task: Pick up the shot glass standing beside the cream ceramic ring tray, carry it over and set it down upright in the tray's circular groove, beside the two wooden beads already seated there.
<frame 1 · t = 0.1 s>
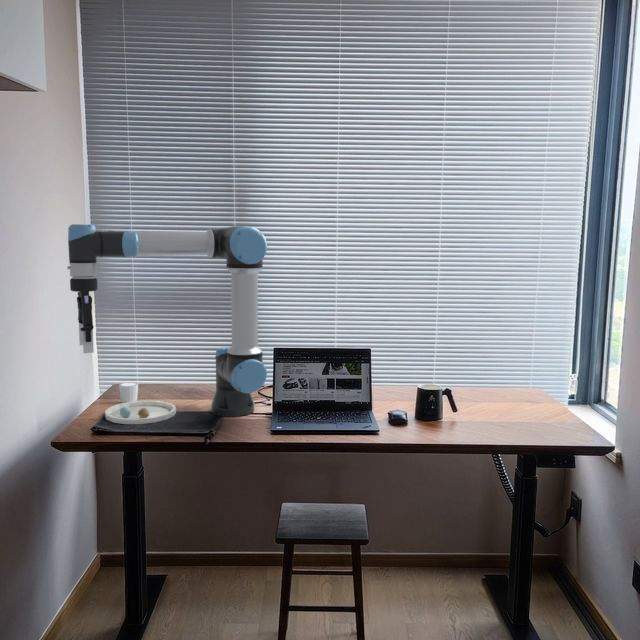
hand: (86, 348, 189), 28 cm above the table, fingers open, 13 cm apart
shot glass: (129, 403, 235), on the table
bead teal: (125, 417, 213), point 1 cm above the table, touching ring tray
ring tray: (141, 416, 217), on the table
bead honey: (143, 418, 212), point 1 cm above the table, touching ring tray
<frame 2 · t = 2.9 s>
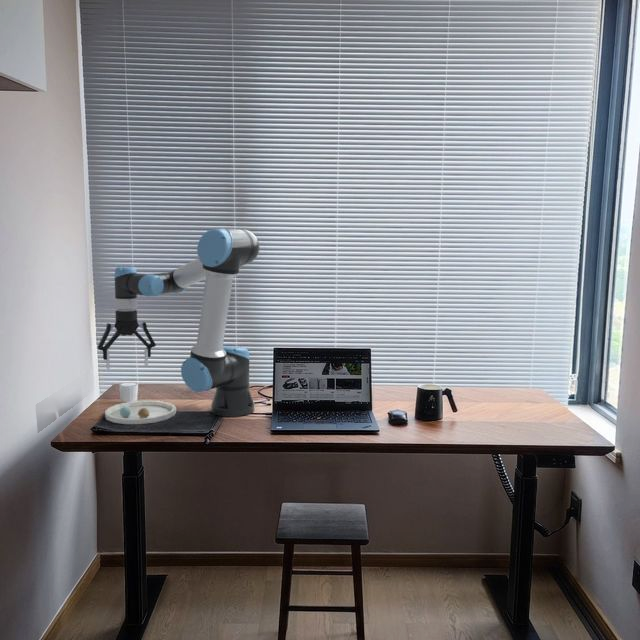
hand: (127, 367, 233), 13 cm above the table, fingers open, 13 cm apart
nothing on the table moved.
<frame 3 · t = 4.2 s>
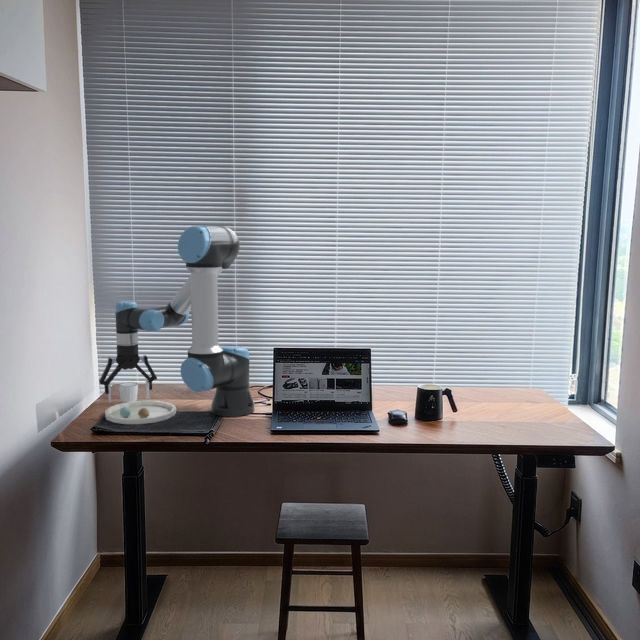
hand: (129, 400, 235), 1 cm above the table, fingers open, 13 cm apart
nothing on the table moved.
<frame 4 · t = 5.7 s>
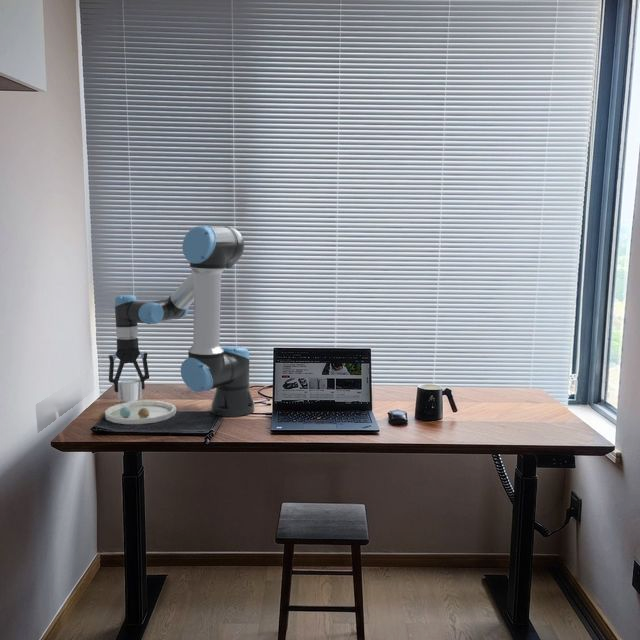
hand: (130, 399, 234), 1 cm above the table, fingers closed on shot glass, 7 cm apart
shot glass: (130, 400, 234), point 1 cm above the table, touching gripper
everything else where it was.
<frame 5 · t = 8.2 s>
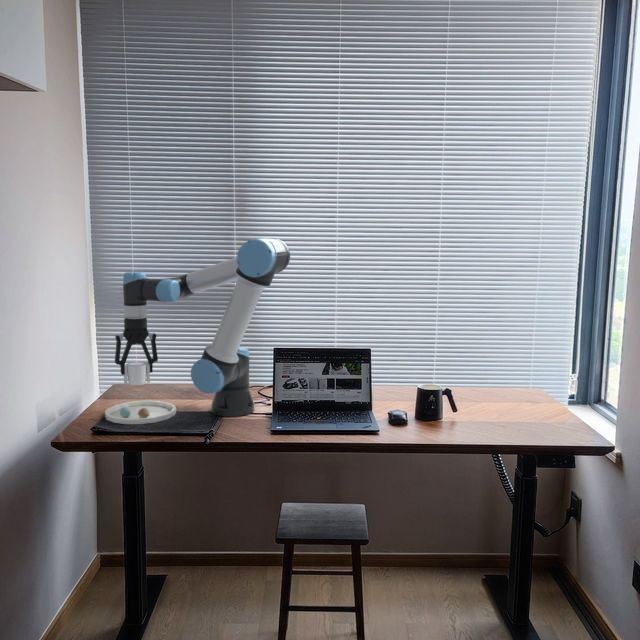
hand: (137, 382, 221), 11 cm above the table, fingers closed on shot glass, 7 cm apart
shot glass: (137, 383, 221), point 10 cm above the table, touching gripper
everything else where it was.
when the fingers open (2 cm above the table, at t = 10.3 s): shot glass drops 1 cm, resting on ring tray.
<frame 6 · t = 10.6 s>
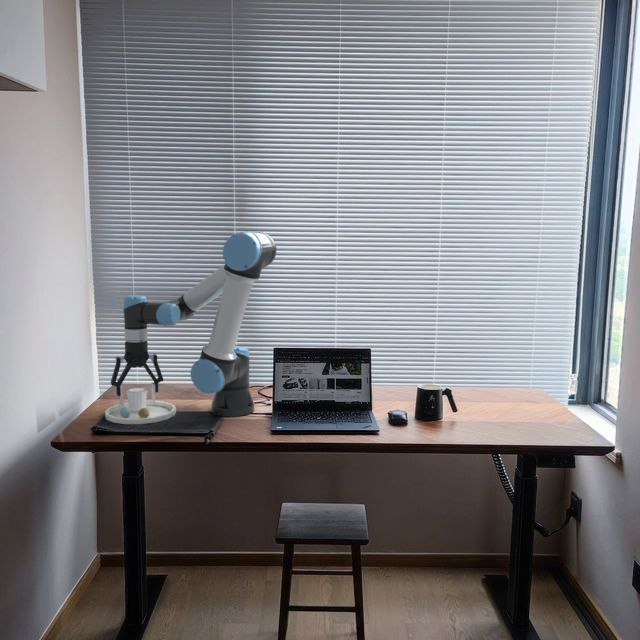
hand: (137, 403, 222), 3 cm above the table, fingers open, 10 cm apart
shot glass: (137, 409, 222), point 1 cm above the table, touching ring tray
everything else where it was.
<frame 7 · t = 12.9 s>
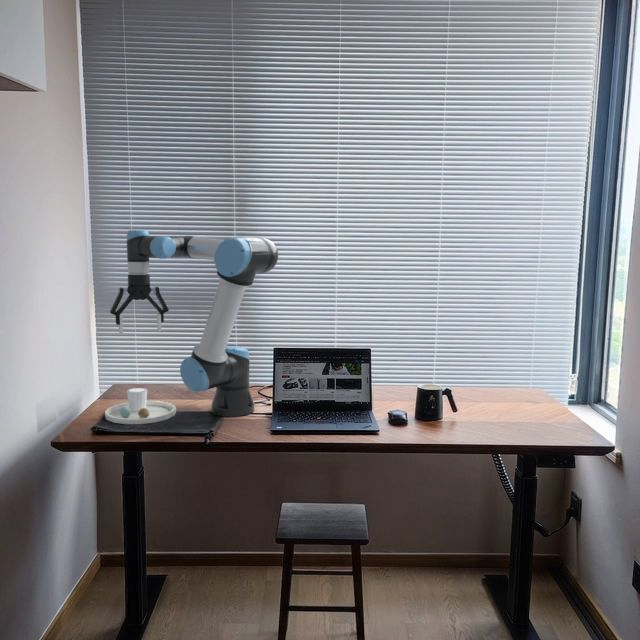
hand: (140, 332, 229), 26 cm above the table, fingers open, 13 cm apart
nothing on the table moved.
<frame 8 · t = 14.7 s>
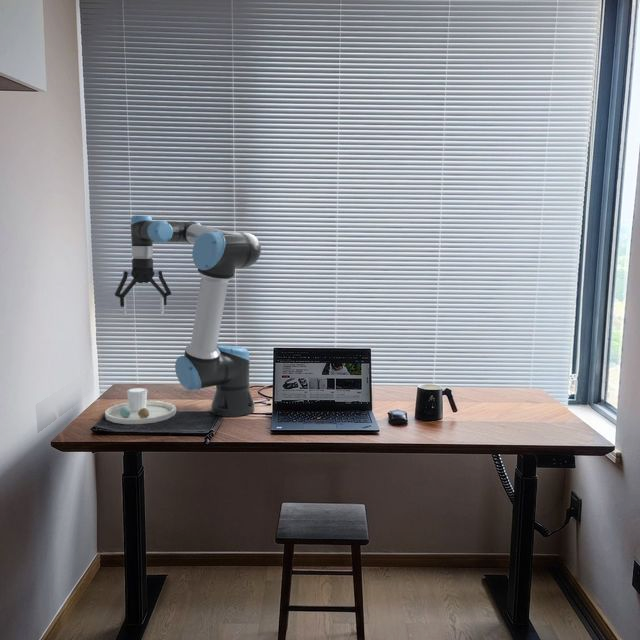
hand: (143, 314, 238), 32 cm above the table, fingers open, 13 cm apart
nothing on the table moved.
at the end: shot glass 0.1 cm from the target spot, point 0.8 cm above the table; shot glass tilted 0°; the gripper is holding nothing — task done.
